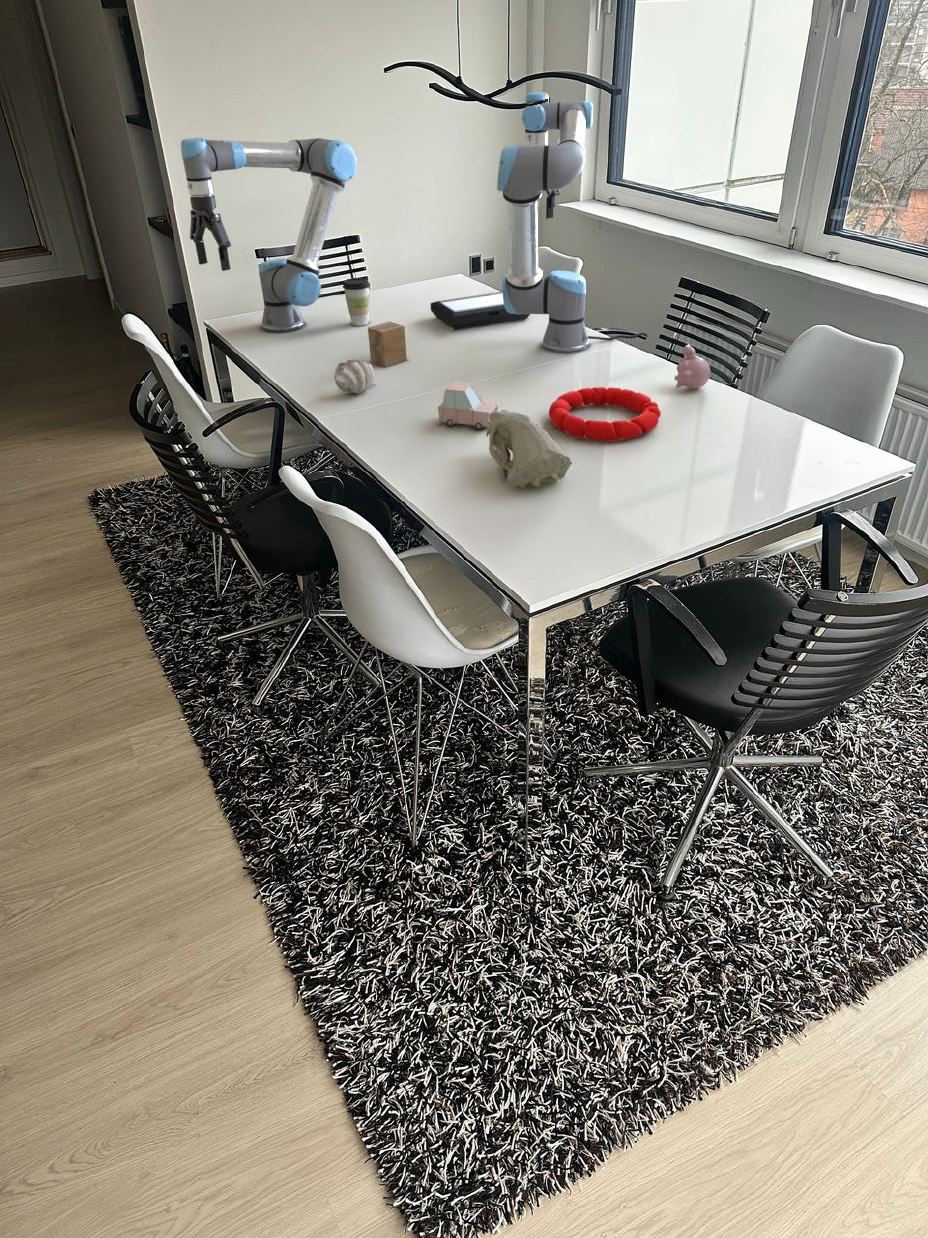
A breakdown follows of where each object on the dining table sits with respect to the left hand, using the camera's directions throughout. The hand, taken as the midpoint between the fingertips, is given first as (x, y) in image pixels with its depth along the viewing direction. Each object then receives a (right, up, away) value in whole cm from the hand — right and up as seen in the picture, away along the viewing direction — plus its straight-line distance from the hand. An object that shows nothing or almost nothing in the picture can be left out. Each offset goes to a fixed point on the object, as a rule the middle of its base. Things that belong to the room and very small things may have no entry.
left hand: (214, 266), depth 288 cm
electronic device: (+87, -3, +40) cm, 96 cm away
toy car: (+82, -60, -42) cm, 110 cm away
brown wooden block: (+56, -29, +4) cm, 63 cm away
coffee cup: (+42, -5, +40) cm, 58 cm away
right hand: (+105, +26, +20) cm, 110 cm away
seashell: (+48, -46, -20) cm, 70 cm away
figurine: (+147, -46, -25) cm, 156 cm away
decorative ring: (+119, -60, -44) cm, 140 cm away
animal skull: (+95, -77, -67) cm, 139 cm away
